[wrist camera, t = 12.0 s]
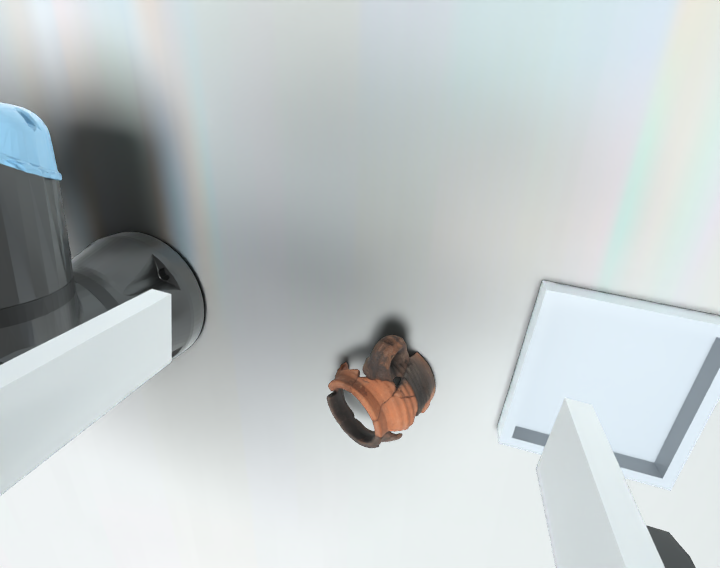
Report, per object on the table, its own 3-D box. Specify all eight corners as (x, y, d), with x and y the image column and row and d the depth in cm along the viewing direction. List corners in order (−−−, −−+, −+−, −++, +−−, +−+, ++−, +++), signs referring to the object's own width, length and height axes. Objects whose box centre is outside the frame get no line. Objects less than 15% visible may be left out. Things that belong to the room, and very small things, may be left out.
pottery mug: (437, 422, 45) (387, 475, 40) (370, 377, 50) (318, 419, 45) (451, 334, 38) (394, 383, 33) (372, 293, 44) (312, 330, 39)
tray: (497, 426, 43) (498, 443, 41) (542, 280, 37) (546, 289, 35) (659, 470, 40) (670, 490, 38) (736, 318, 34) (754, 332, 32)
